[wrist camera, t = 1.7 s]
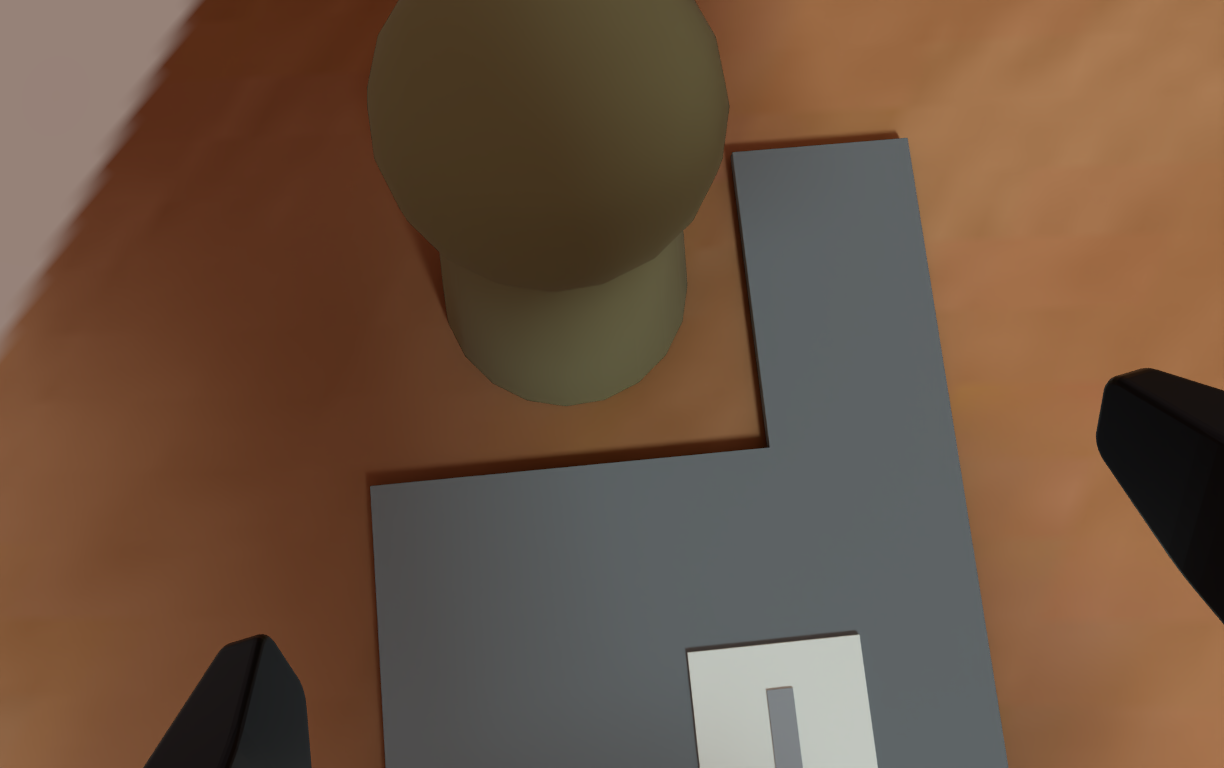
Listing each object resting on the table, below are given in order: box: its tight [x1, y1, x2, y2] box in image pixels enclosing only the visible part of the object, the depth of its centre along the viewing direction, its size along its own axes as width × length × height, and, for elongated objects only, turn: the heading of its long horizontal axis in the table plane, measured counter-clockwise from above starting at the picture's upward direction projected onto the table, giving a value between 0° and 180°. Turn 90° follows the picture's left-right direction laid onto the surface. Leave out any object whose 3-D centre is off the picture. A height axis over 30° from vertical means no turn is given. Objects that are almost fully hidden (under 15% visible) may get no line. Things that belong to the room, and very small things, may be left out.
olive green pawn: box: [367, 0, 729, 406], centre depth 17 cm, size 6×6×11 cm
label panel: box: [370, 138, 1008, 768], centre depth 21 cm, size 20×14×1 cm
